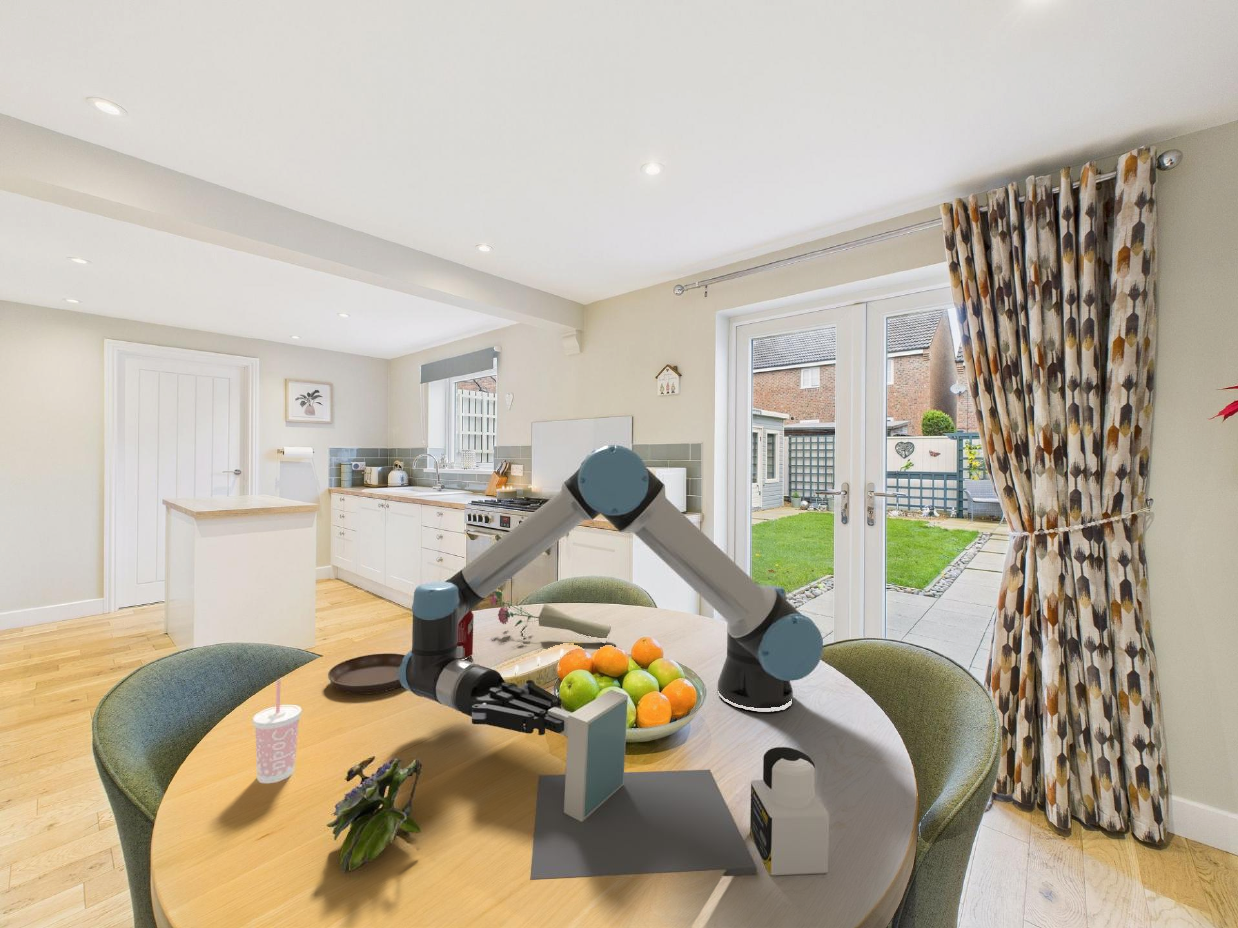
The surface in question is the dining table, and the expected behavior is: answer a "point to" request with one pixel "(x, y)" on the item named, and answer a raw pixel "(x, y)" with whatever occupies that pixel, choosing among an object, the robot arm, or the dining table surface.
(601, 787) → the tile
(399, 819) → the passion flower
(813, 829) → the medicine bottle
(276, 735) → the beverage cup
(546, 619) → the flower vase
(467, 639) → the soda can
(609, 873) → the mat
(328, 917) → the dining table surface
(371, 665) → the plant saucer
